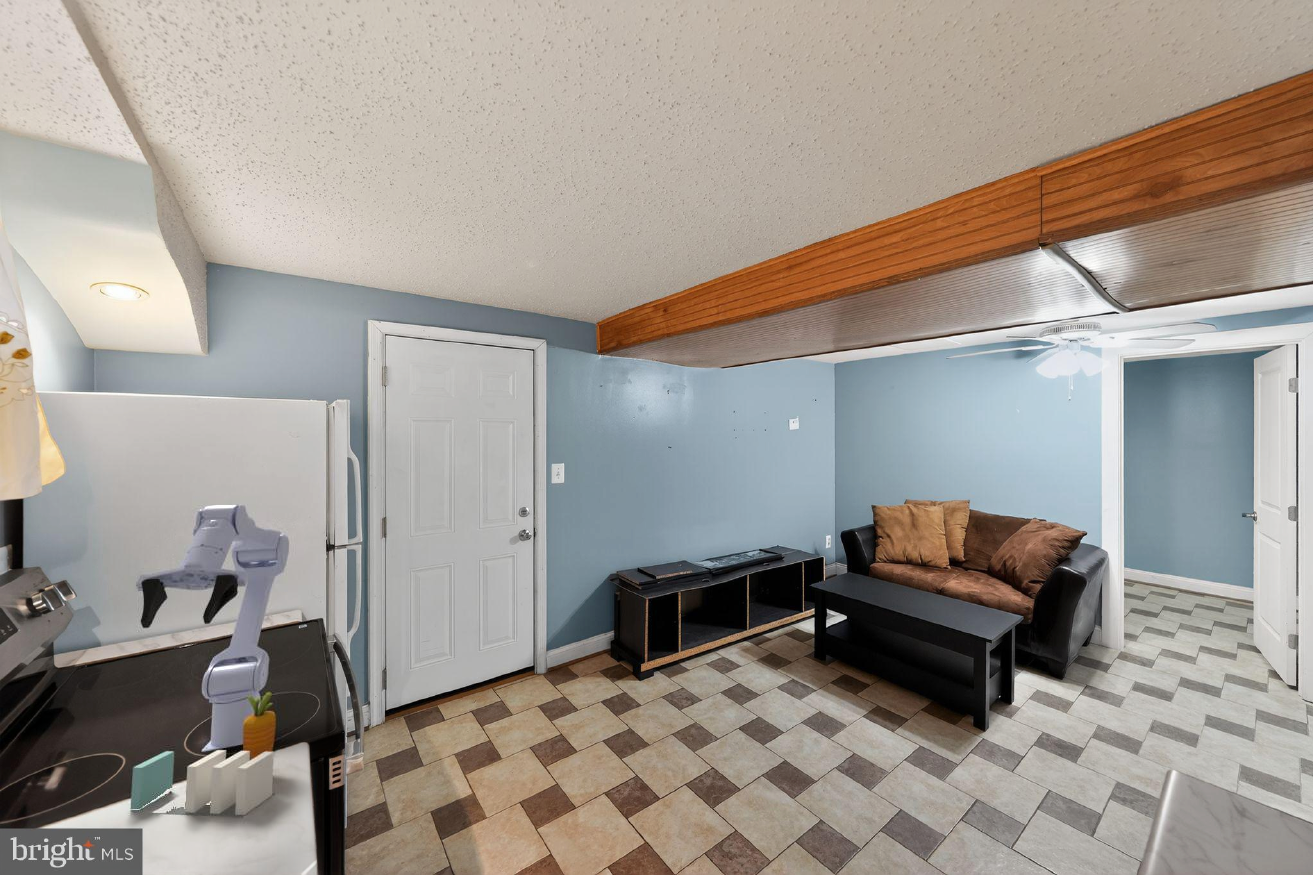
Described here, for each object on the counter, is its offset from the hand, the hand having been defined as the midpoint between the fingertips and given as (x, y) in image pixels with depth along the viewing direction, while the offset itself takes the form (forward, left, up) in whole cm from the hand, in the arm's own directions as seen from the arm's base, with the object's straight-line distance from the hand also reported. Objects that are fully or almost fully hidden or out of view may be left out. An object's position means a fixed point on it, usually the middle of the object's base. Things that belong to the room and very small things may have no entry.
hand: (176, 622), depth 81 cm
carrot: (-7, +10, -31) cm, 33 cm away
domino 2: (0, +8, -30) cm, 31 cm away
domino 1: (-2, +4, -30) cm, 31 cm away
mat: (-1, +6, -31) cm, 31 cm away
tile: (-7, -4, -31) cm, 32 cm away
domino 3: (+2, +12, -30) cm, 33 cm away
